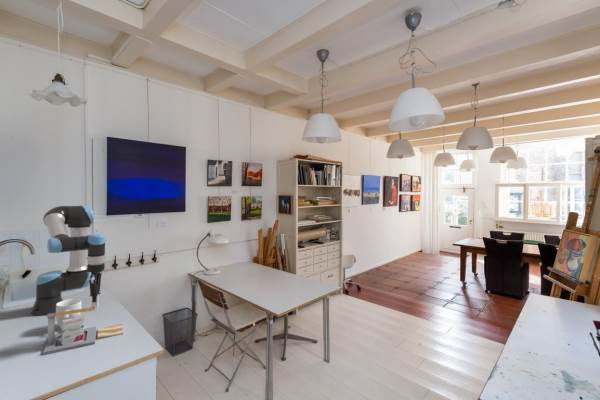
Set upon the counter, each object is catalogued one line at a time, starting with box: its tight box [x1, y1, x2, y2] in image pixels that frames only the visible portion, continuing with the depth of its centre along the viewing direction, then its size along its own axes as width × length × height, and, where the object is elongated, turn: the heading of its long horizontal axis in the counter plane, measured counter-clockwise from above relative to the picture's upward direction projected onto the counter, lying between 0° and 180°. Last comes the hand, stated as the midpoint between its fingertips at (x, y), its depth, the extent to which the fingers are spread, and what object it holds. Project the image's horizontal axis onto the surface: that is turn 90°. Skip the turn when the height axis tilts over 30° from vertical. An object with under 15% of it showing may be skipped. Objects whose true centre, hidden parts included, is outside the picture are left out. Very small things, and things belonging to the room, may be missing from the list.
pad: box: [97, 324, 124, 340], centre depth 152 cm, size 11×11×1 cm
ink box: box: [59, 313, 85, 346], centre depth 142 cm, size 9×5×12 cm, turn 140°
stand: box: [42, 316, 97, 356], centre depth 142 cm, size 18×19×14 cm
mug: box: [55, 298, 82, 327], centre depth 155 cm, size 15×11×13 cm
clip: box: [46, 307, 96, 319], centre depth 142 cm, size 3×19×1 cm, turn 124°
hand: (94, 307), depth 151 cm, fingers closed
